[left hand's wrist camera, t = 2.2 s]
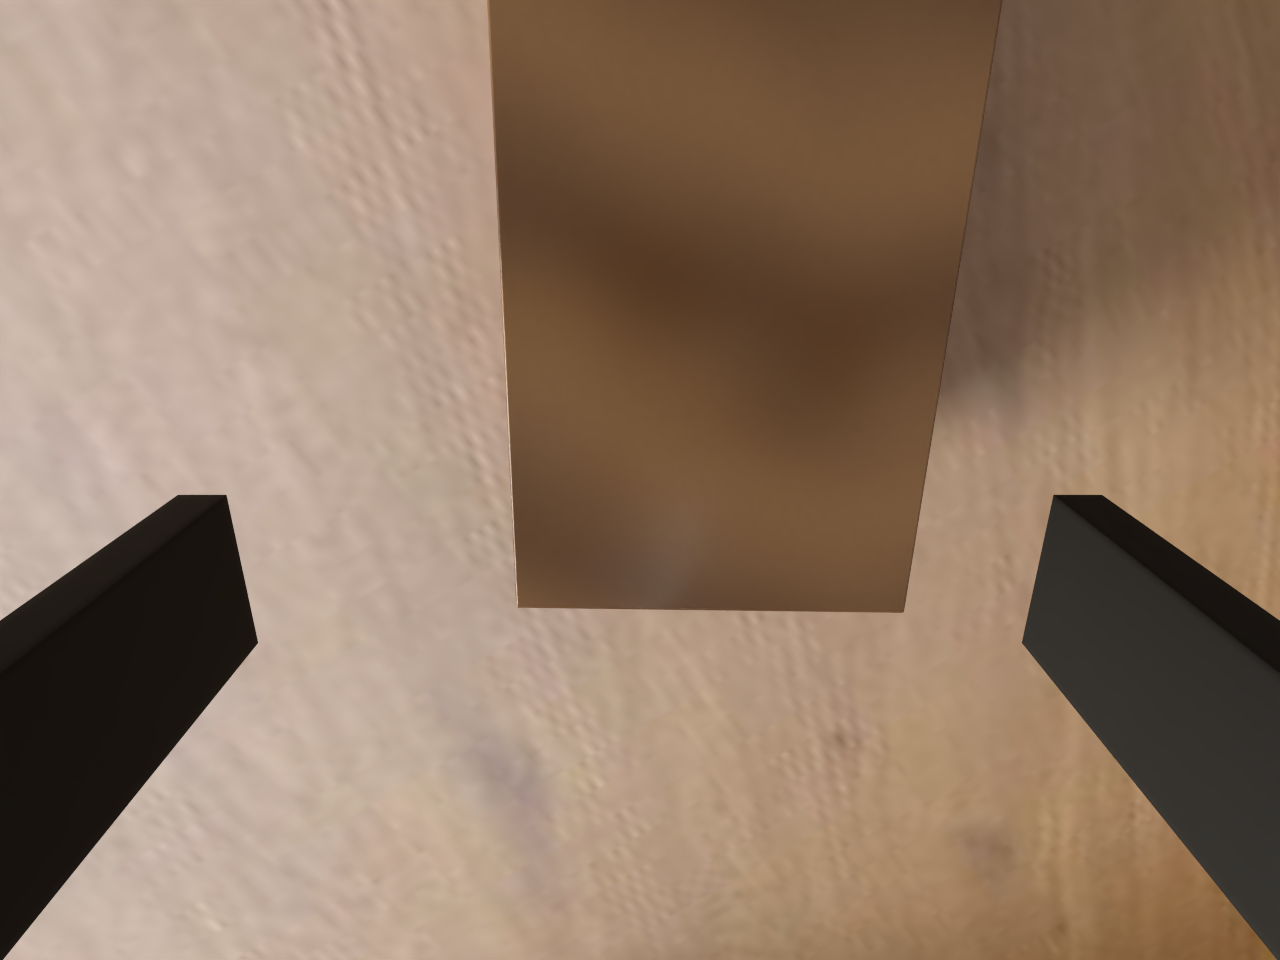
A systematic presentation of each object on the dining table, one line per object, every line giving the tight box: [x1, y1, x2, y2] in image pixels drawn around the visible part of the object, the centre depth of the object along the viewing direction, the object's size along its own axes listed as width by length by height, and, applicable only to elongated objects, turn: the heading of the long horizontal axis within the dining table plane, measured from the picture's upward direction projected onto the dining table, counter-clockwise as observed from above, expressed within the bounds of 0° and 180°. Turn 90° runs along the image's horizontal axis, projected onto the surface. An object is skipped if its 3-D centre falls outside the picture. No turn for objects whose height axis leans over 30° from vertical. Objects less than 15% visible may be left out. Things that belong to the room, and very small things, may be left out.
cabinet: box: [487, 0, 1002, 613], centre depth 22 cm, size 18×10×11 cm, turn 179°
